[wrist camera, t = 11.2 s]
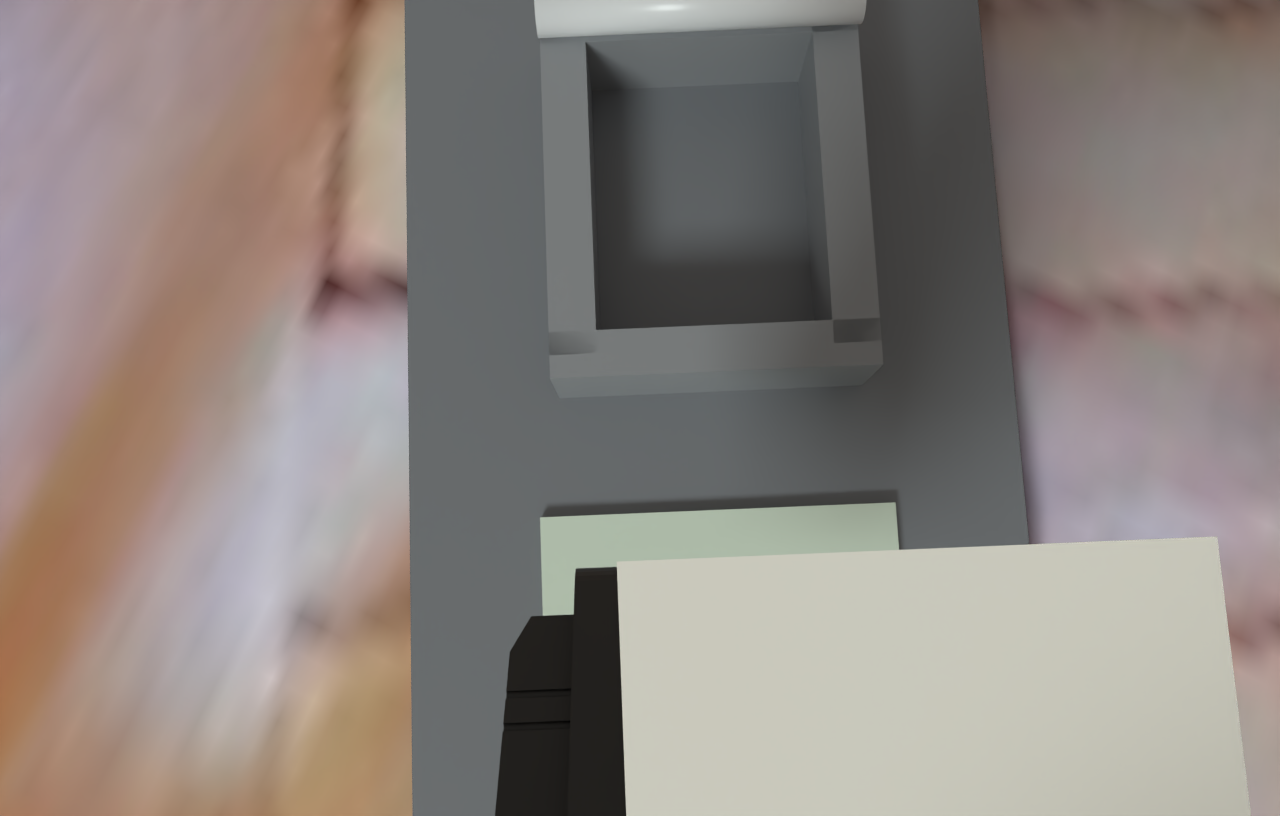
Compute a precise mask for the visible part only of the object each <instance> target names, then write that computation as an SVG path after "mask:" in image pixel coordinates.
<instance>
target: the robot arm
mask: <svg viewBox="0 0 1280 816" xmlns="http://www.w3.org/2000/svg"><path fill="white" fill-rule="evenodd" d="M503 725H504V730H503V732H502V743H501V754H500V765H499V776H498V787H497V798H496V809H495V816H626V796H625V769H624V743H623V716H622V689H621V662H620V635H619V609H618V582H617V567H599V568H576V571H575V588H574V614H571V615H548V616H531V617H530V619H529V621H528V622H527V624H526V626H525V627H524V629H523V631H522V632H521V634H520V636H519V637H518V639H517V640H516V642H515V644H514V645H513V647H512V649H511V650H510V655H509V666H508V677H507V688H506V699H505V710H504V721H503Z"/></svg>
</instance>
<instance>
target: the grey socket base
mask: <svg viewBox="0 0 1280 816" xmlns="http://www.w3.org/2000/svg"><path fill="white" fill-rule="evenodd" d="M405 83H406V185H407V287H408V388H409V490H410V591H411V693H412V795H413V816H495V809H496V798H497V787H498V776H499V765H500V754H501V743H502V732H503V730H504V725H503V721H504V710H505V699H506V688H507V677H508V666H509V655H510V650H511V649H512V647H513V645H514V644H515V642H516V640H517V639H518V637H519V636H520V634H521V632H522V631H523V629H524V627H525V626H526V624H527V622H528V621H529V619H530V617H531V616H548V615H571V614H574V588H575V571H576V568H599V567H617V562H619V561H643V560H667V559H691V558H715V557H739V556H763V555H788V554H812V553H836V552H860V551H884V550H908V549H932V548H956V547H980V546H1004V545H1028V544H1029V537H1028V527H1027V516H1026V505H1025V495H1024V484H1023V474H1022V463H1021V452H1020V442H1019V431H1018V421H1017V410H1016V399H1015V389H1014V378H1013V367H1012V357H1011V346H1010V336H1009V325H1008V314H1007V304H1006V293H1005V283H1004V272H1003V261H1002V251H1001V240H1000V230H999V219H998V208H997V198H996V187H995V177H994V166H993V155H992V145H991V134H990V123H989V113H988V102H987V92H986V81H985V70H984V60H983V49H982V39H981V28H980V17H979V7H978V0H405Z"/></svg>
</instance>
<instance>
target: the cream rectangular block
mask: <svg viewBox="0 0 1280 816" xmlns="http://www.w3.org/2000/svg"><path fill="white" fill-rule="evenodd" d="M617 582H618V609H619V635H620V662H621V689H622V716H623V743H624V769H625V796H626V816H1251V812H1250V804H1249V796H1248V787H1247V779H1246V771H1245V763H1244V754H1243V746H1242V738H1241V730H1240V722H1239V713H1238V705H1237V697H1236V689H1235V680H1234V672H1233V664H1232V656H1231V648H1230V639H1229V631H1228V623H1227V615H1226V606H1225V598H1224V590H1223V582H1222V574H1221V565H1220V557H1219V549H1218V541H1217V537H1197V538H1173V539H1149V540H1125V541H1101V542H1076V543H1052V544H1028V545H1004V546H980V547H956V548H932V549H908V550H884V551H860V552H836V553H812V554H788V555H763V556H739V557H715V558H691V559H667V560H643V561H619V562H617Z"/></svg>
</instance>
